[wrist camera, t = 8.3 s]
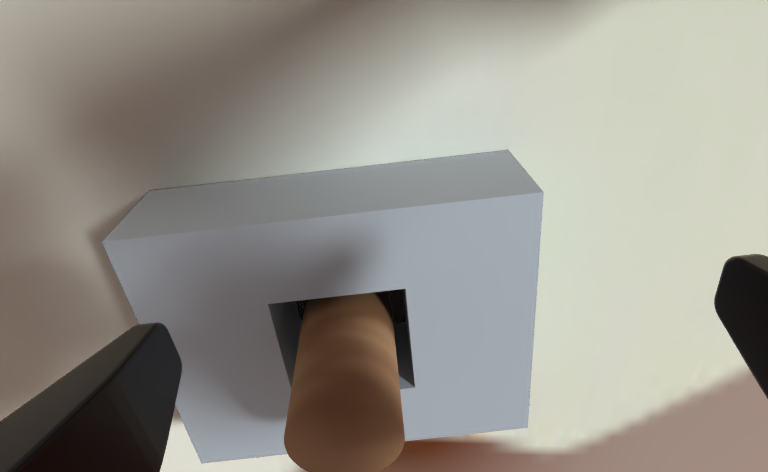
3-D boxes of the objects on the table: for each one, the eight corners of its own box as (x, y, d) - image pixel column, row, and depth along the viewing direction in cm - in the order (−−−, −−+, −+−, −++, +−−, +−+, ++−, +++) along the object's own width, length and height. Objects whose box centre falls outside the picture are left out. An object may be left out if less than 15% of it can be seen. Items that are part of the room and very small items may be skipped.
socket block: (508, 150, 19) (543, 191, 15) (502, 360, 24) (527, 427, 20) (149, 190, 19) (101, 242, 15) (224, 391, 24) (201, 463, 21)
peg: (385, 247, 20) (399, 391, 13) (392, 313, 22) (409, 472, 15) (300, 256, 20) (272, 406, 13) (315, 322, 22) (296, 484, 15)
